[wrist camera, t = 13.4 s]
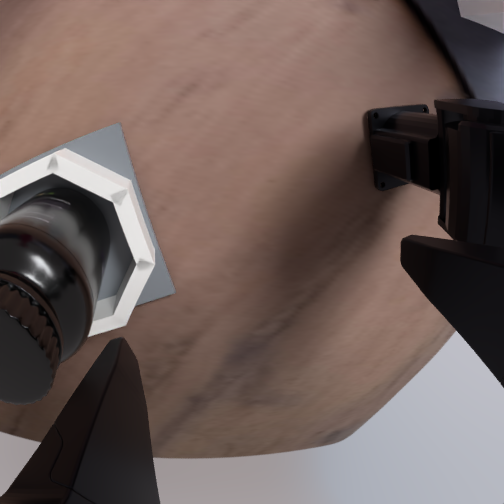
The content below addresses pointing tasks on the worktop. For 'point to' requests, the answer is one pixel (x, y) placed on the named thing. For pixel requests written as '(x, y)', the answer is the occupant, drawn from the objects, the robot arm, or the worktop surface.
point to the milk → (484, 12)
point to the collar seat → (114, 210)
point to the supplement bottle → (47, 287)
